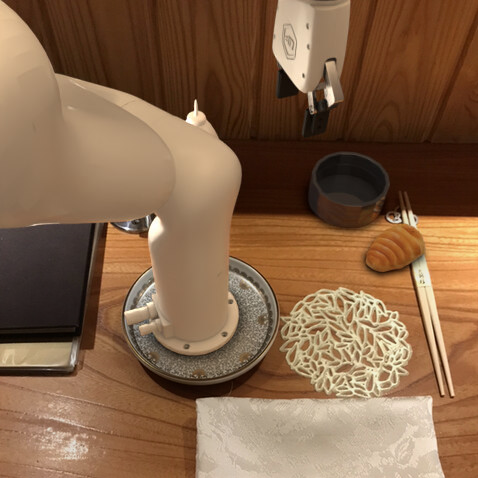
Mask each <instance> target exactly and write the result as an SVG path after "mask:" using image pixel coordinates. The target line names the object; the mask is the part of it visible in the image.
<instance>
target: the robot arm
mask: <svg viewBox="0 0 478 478" xmlns="http://www.w3.org/2000/svg"><path fill="white" fill-rule="evenodd" d="M275 13H276V14H275V19H274V27H273V36H272V44H271V45H272V54H273V55H274V56H275V60H276V65H277V68H278V70H277V77H276V88H275V96H276V98H277V99H278V100H281V99H286V98H289V97H294V96H298V95H299V92H302V93H303V94H307V99H308V100H307V101H308V108H305V109H304V117H303V123H302V130H301V135H302V137H303V138H304V139H305V138H311V137H315V136H319V135H322V134H325V133H326V131H327V128H328V123H329V117H330V113H331V110H334V109H336V108H337V107H338V106H339V105H341V103H343V102H344V100H345V97H344V92H343V88H342V84H341V75H342V72H343V68H344V63H345V58H346V51H347V45H348V44H347V43H348V36H349V27H350V17H351V0H277V6H276V12H275ZM45 50H46V49H44V47H43V45H42V44H41V42H40V41H39V38H38V37H37V36H36V34H35V33H34V32H33V31H32V29H31V28H30V27H29V25H28V24H27V23H26V22H25V21H24V20H23V19H22V17H20V15H19V14H18V13H17V12H16V11H14V9H12V8H11V7H10V6H8V5H7V4H6V3H5V2H4V1H3V0H0V229H3V230H4V229H17V228H29V227H33V226H39V225H41V226H42V225H57V224H58V225H74V224H75V225H79V224H98V223H99V224H100V223H122V222H131V221H135V220H140V219H143V218H147V217H148V216H151V215H153V214H154V215H155V217H154V219H153V220H152V222H151V224H150V226H149V230H148V234H147V245H148V251H149V256H150V262H151V267H152V274H153V275H152V276H153V281H154V287H155V293H154V292H153V293H152V294H151V300H152V301H150V302H147V303H145V306H141V307H140V308H139V307H138V308H134V309H130V310H126V311H124V312H123V314H124V317H125V321H126V324H127V326H133V325H136V324H138V323H141V322H143V321H145V320H149V323H145V324H141V325H138V326H137V327H138V331H139V333H140V336H141V337H143V336H146V335H149V334H151V333H152V334H153V336H154V337H155V339H156V341H158V342H159V343H160V344H161V345H162V346H163V347H165V348H166V349H168V350H170V351H171V352H174V353H177V354H179V355H186V356H201V355H207V354H209V353H212V352H215V351H217V350H218V349H220V348H222V347H224V346H225V345H226V344H227V343H228V342H229V341H230V340H231V339H232V338H233V336H234V335H235V332H236V331H237V328H238V325H239V319H240V318H239V317H240V315H239V311H240V310H239V306H238V302H237V300H236V298H235V297H234V294H233V293H231V291H230V290H229V286H230V285H229V283H230V282H229V281H230V280H229V279H230V250H231V249H230V245H231V244H230V243H231V240H230V239H231V226H232V219H233V213H234V211H235V206H236V203H237V199H238V196H239V192H240V188H241V184H242V177H243V174H242V173H243V172H242V165H241V162H240V159H239V158H238V156H237V155H236V153H235V152H234V151H233V149H231V148H230V147H229V146H228V145H227V144H226V143H224V141H222V140H221V139H220V138H219V137H218V138H219V139H218V138H216V137H215V136H213V135H211V134H210V133H208V132H206V131H204V130H202V129H200V128H198V127H196V126H194V125H192V124H190V123H188V122H186V120H184V119H183V118H181V117H178V116H176V115H173V114H171V113H169V112H168V111H165V110H163V109H161V108H159V107H158V106H155V105H153V104H152V103H149V102H147V101H146V100H143V99H142V98H140V97H138V96H135V95H133V94H130V93H127V92H124V91H121V90H119V89H115V88H111V87H107V86H104V85H100V84H97V83H93V82H89V81H86V80H83V79H79V78H75V77H71V76H69V75H65V74H61V73H55V71H54V68H53V65H52V63H51V61H50V59H49V57H48V55H47V52H46V51H45ZM322 78H323V80H324V82H323V81H322V82H320V81H321V80H322ZM321 90H323V92H324V94H323V95H324V98H322V99H320V100H317V91H321Z"/></svg>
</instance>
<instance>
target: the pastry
mask: <svg viewBox="0 0 478 478" xmlns="http://www.w3.org/2000/svg"><path fill="white" fill-rule="evenodd" d="M426 251H427V248H426V243H425V241H424V236H423V234H422V233H421V232H420V230H418V229H417V228H416V227H415V226H414V225H410V224H408V223H399V224H397V225H396V226H392V227H389V228H387V229H385V230H384V231H383V232H382V233H380V234H378V236H377V237H376V238H375V239H374V241H373V242H372V243H371V245H370V247H369V249H368V250H367V252H366V256H365V257H366V258H365V264H366V265H367V266H368V267H369V268H370V269H371V270H373V271H376V272H380V273H384V272H390V271H393V270H402V269H404V268H405V267H406V266H409V265H411V263H413V262H415V261H417V260H418V259H419V258H420V257H422V256H423V255H425V254H426Z"/></svg>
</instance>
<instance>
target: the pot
mask: <svg viewBox="0 0 478 478" xmlns="http://www.w3.org/2000/svg"><path fill="white" fill-rule="evenodd" d="M390 187H391V184H390V178H389V173H388V172H387V170H386V169H385V168H384V167H383V165H382V164H381V163H380V162H379V161H377V160H375V159H373V158H372V157H371V156H369V155H366V154H362V153H359V152H355V151H337V152H333V153H329V154H327V155H325V156H323V157H322V158H320V159H319V160H318V161H317V162H316V163H315V165H314V167H313V169H312V171H311V176H310V182H309V186H308V192H307V193H308V204H309V207H310V209H311V211H312V212H313V213H314V214H315V215H316V217H318V218H319V219H320V220H322V221H323V222H324V223H326V224H329V225H331V226H334V227H337V228H343V229H356V228H357V229H358V228H362V227H365V226H367V225H369V224H371V223H373V222H374V221H375V220H376V219H377V218H378V217H379V215H380V214H381V211H382V209H383V207H384V204H385V201H386V199H387V195H388V192H389V189H390Z"/></svg>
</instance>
